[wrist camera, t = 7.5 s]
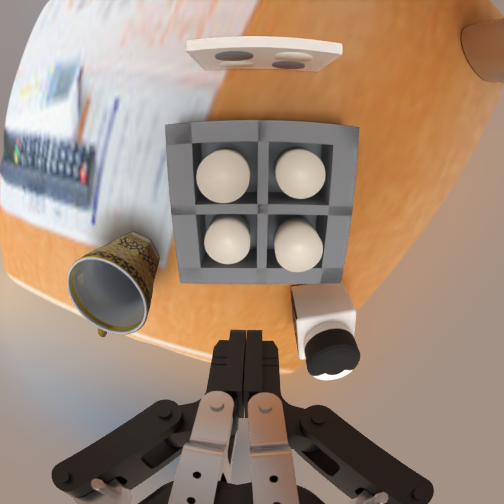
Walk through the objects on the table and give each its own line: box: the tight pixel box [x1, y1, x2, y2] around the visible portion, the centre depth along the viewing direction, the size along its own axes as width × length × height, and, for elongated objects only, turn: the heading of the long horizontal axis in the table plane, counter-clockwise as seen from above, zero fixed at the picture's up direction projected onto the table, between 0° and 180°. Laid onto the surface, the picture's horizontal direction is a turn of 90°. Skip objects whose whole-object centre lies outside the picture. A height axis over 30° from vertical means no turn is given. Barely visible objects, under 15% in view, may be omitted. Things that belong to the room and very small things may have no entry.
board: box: [165, 120, 359, 284], centre depth 29 cm, size 18×17×5 cm
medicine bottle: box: [290, 280, 360, 380], centre depth 32 cm, size 7×7×12 cm
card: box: [186, 36, 343, 72], centre depth 20 cm, size 12×1×9 cm, turn 90°
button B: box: [273, 218, 323, 272], centre depth 27 cm, size 5×5×3 cm
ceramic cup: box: [67, 232, 159, 337], centre depth 30 cm, size 13×10×10 cm
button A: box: [274, 148, 325, 199], centre depth 26 cm, size 5×5×3 cm
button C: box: [196, 148, 250, 203], centre depth 24 cm, size 5×5×3 cm
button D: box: [204, 214, 250, 264], centre depth 29 cm, size 5×5×3 cm
